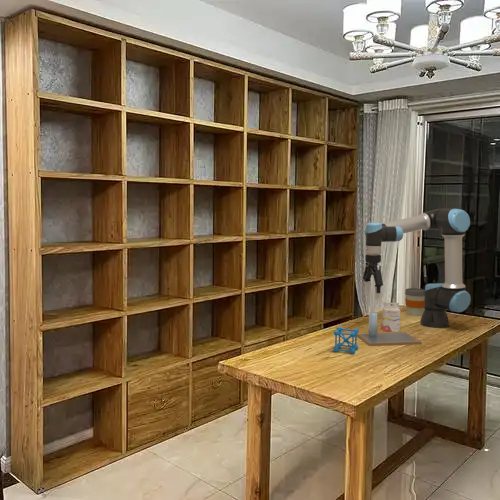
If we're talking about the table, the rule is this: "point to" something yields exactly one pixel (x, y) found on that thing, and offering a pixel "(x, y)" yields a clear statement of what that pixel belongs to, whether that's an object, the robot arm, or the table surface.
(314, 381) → the table surface
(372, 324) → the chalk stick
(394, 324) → the ink cartridge box
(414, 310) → the reusable coffee cup
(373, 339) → the slate board
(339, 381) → the table surface
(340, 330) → the molecular structure
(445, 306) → the robot arm
